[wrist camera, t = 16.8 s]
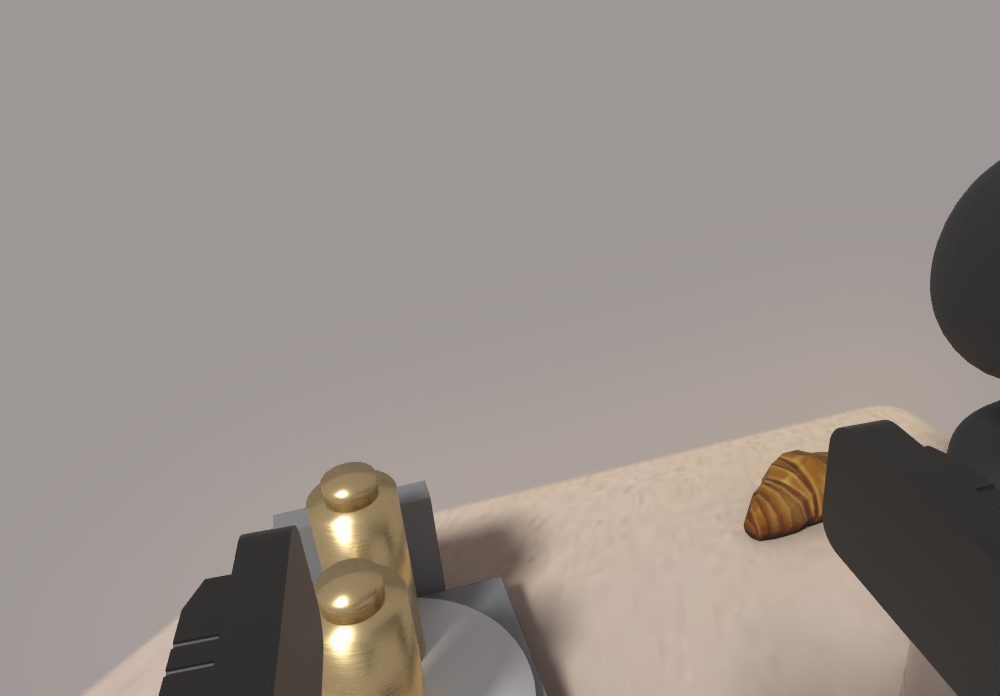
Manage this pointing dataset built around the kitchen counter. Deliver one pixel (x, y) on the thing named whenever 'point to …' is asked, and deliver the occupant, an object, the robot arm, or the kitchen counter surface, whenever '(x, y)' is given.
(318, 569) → the scale
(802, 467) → the croissant
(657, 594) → the kitchen counter surface
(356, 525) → the weight
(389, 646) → the weight
